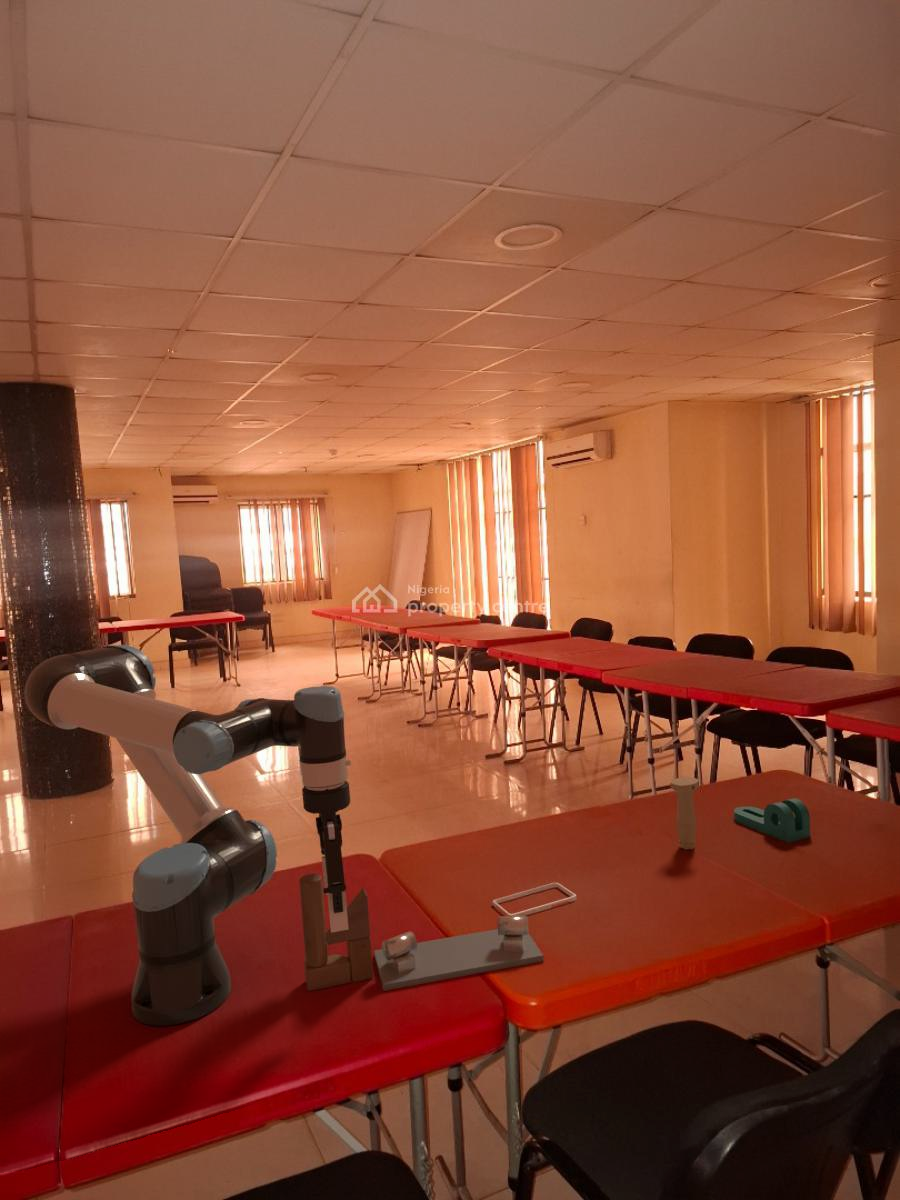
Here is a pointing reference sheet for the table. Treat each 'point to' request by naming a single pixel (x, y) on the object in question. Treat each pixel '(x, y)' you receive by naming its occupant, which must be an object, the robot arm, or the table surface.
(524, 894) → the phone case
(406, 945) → the grey block
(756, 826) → the bracket
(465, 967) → the plate
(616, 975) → the table surface
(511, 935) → the grey knob
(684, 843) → the handle
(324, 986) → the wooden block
